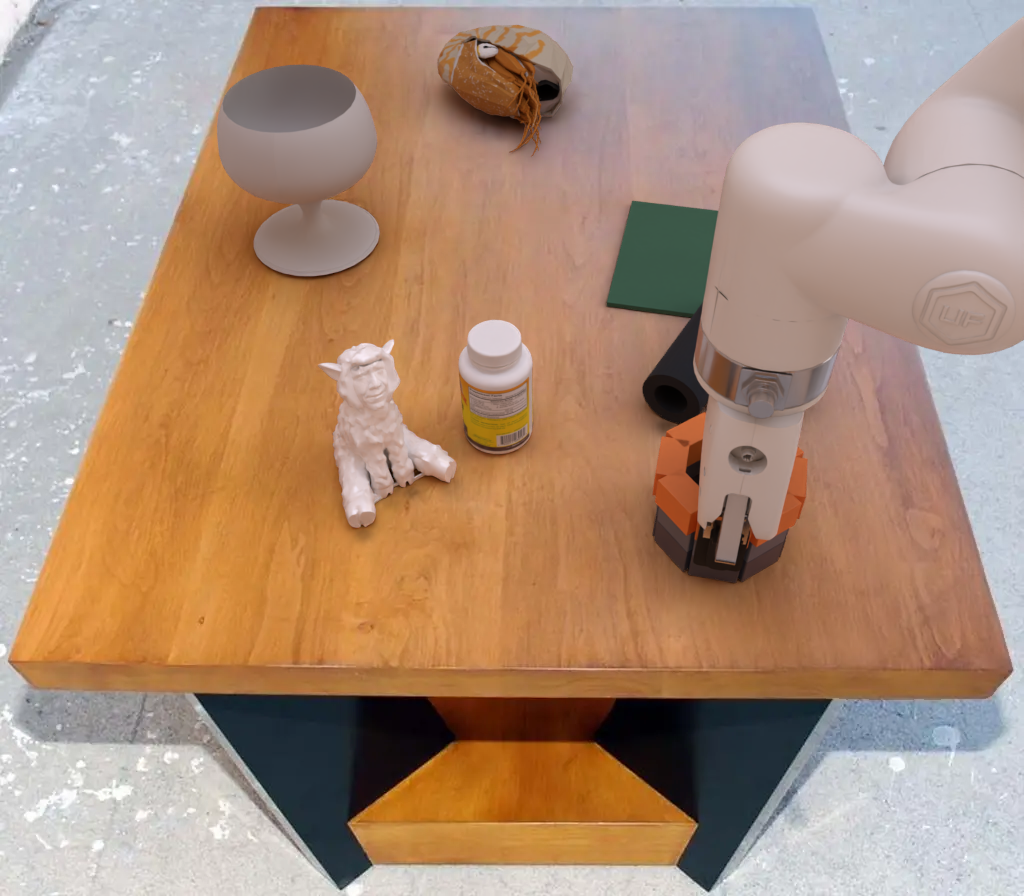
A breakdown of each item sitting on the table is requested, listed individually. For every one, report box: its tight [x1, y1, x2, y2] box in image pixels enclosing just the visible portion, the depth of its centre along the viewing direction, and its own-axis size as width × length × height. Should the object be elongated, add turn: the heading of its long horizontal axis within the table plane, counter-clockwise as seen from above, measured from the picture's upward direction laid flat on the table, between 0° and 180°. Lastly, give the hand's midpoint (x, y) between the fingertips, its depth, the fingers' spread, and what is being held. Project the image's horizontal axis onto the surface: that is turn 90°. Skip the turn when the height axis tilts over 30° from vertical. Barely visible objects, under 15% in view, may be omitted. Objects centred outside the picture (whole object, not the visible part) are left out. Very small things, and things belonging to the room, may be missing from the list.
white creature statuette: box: [317, 338, 458, 529], centre depth 74 cm, size 10×9×12 cm
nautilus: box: [436, 24, 574, 158], centre depth 110 cm, size 8×22×15 cm
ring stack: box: [652, 460, 790, 584], centre depth 72 cm, size 9×9×5 cm
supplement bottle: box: [457, 319, 534, 455], centre depth 77 cm, size 6×6×10 cm
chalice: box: [216, 64, 381, 277], centre depth 92 cm, size 14×14×15 cm
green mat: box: [605, 200, 718, 319], centre depth 94 cm, size 16×16×1 cm
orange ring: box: [652, 411, 808, 548], centre depth 69 cm, size 10×10×2 cm
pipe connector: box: [641, 302, 709, 424], centre depth 82 cm, size 12×5×15 cm
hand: (718, 546), depth 69 cm, fingers closed on orange ring, 2 cm apart
